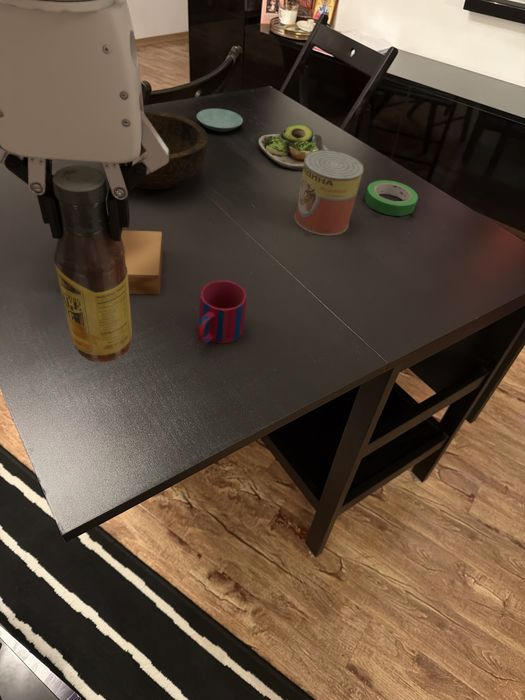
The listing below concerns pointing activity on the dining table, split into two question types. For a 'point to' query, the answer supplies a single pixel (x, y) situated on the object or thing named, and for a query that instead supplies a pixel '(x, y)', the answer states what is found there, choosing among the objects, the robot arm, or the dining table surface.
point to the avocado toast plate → (291, 146)
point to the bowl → (176, 150)
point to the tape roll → (387, 205)
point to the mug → (221, 312)
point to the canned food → (327, 192)
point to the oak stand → (143, 260)
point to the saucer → (219, 119)
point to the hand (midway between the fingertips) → (89, 229)
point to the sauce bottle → (91, 266)
